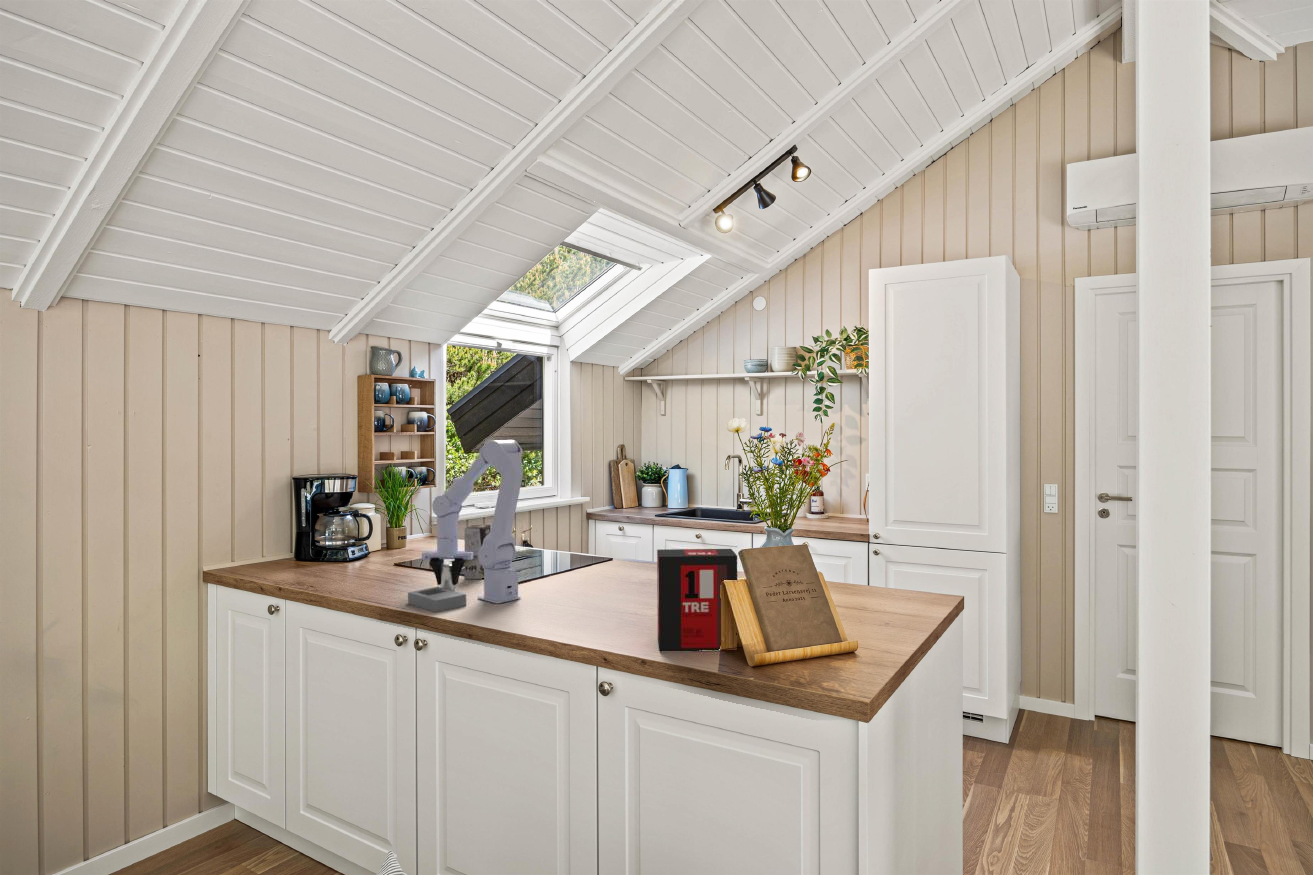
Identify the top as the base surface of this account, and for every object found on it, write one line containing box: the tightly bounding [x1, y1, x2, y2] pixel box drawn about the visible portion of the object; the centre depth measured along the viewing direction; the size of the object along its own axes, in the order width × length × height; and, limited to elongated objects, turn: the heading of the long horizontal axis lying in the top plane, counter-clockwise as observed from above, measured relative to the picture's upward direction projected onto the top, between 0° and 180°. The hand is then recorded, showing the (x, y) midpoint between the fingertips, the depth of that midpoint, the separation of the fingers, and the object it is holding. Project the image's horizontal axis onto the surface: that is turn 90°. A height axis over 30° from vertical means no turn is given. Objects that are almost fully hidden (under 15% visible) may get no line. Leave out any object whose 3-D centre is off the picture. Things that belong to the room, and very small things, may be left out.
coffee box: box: [464, 524, 492, 580], centre depth 225 cm, size 9×6×16 cm
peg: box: [440, 563, 456, 591], centre depth 202 cm, size 4×4×8 cm
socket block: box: [407, 586, 467, 613], centre depth 188 cm, size 14×9×3 cm, turn 48°
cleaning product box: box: [656, 548, 738, 652], centre depth 151 cm, size 16×9×20 cm, turn 92°
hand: (447, 584), depth 202 cm, fingers closed on peg, 4 cm apart
